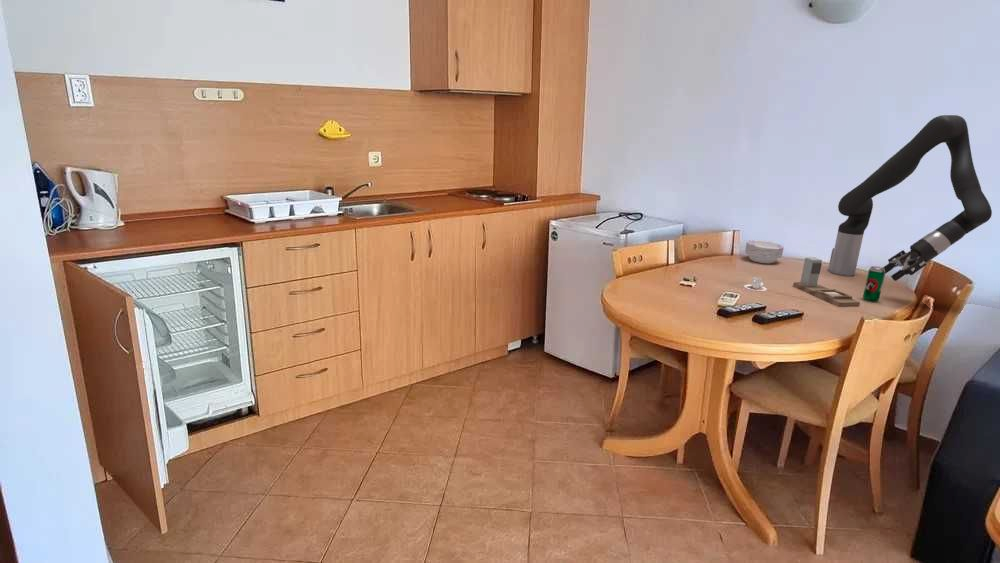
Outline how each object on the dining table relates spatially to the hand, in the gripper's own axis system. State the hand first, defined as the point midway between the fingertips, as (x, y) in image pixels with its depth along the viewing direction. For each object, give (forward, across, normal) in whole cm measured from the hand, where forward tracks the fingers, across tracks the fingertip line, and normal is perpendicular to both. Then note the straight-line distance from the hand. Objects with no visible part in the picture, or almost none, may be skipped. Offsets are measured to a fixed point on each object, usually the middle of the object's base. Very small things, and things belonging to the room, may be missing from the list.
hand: (887, 275), depth 210 cm
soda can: (+9, 0, +4) cm, 10 cm away
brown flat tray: (+20, -1, -7) cm, 21 cm away
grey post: (+21, -9, -10) cm, 25 cm away
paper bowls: (+26, -50, -13) cm, 58 cm away
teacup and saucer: (+35, -4, -20) cm, 40 cm away
